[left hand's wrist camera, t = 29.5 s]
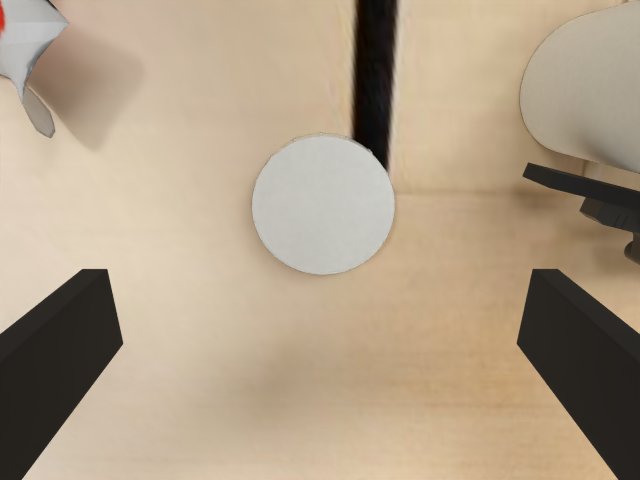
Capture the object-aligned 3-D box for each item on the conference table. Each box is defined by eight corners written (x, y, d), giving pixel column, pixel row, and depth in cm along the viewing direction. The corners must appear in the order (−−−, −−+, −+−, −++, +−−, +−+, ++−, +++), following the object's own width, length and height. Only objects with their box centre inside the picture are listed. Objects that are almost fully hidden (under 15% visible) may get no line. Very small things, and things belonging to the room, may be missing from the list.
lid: (314, 100, 25) (314, 101, 23) (419, 193, 27) (426, 201, 25) (229, 208, 28) (222, 217, 26) (330, 286, 30) (331, 300, 28)
